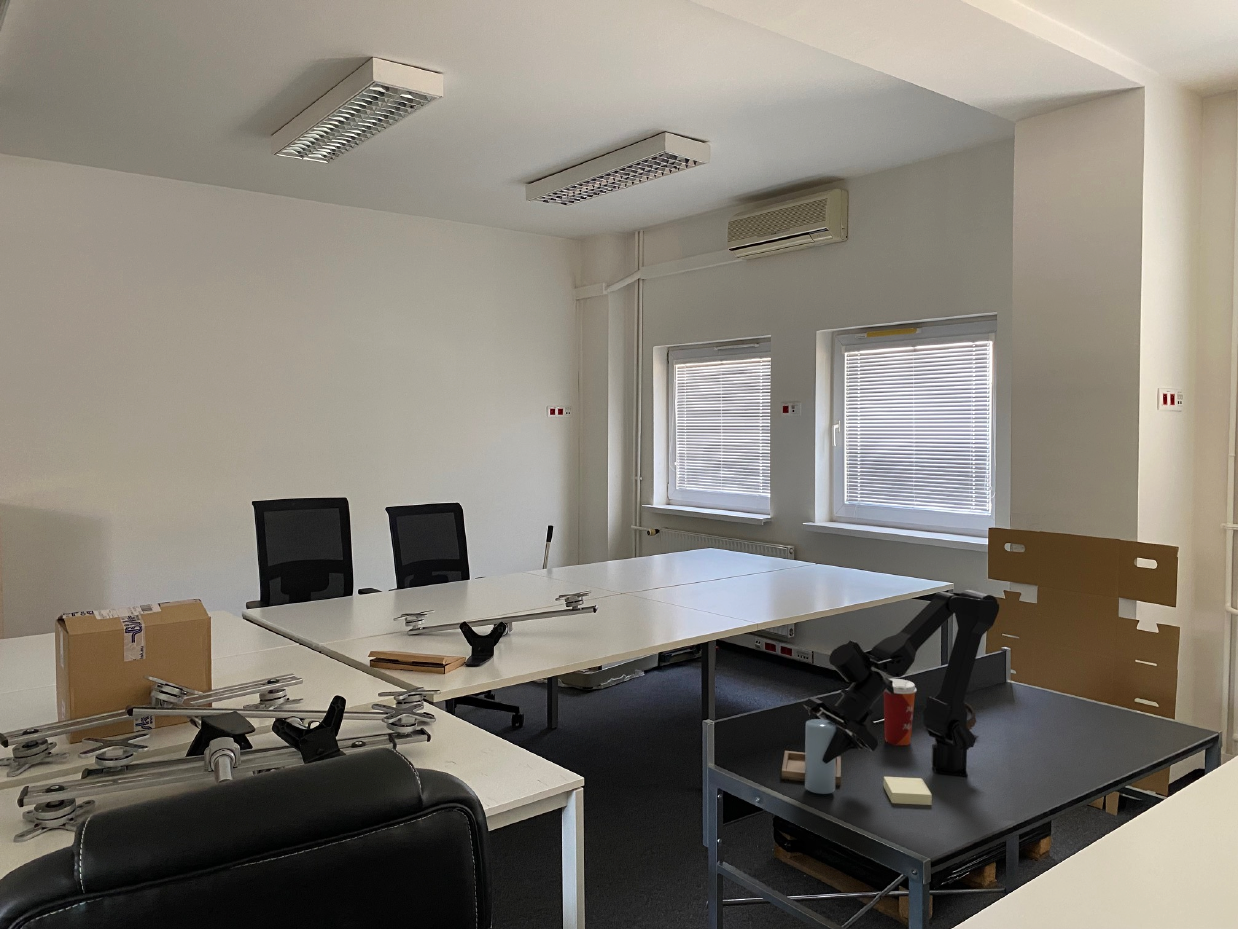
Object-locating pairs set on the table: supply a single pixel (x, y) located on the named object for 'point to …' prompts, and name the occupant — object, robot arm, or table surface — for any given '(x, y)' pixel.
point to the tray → (802, 767)
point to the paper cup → (899, 712)
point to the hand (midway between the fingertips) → (814, 756)
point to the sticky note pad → (907, 790)
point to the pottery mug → (972, 720)
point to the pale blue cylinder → (819, 756)
